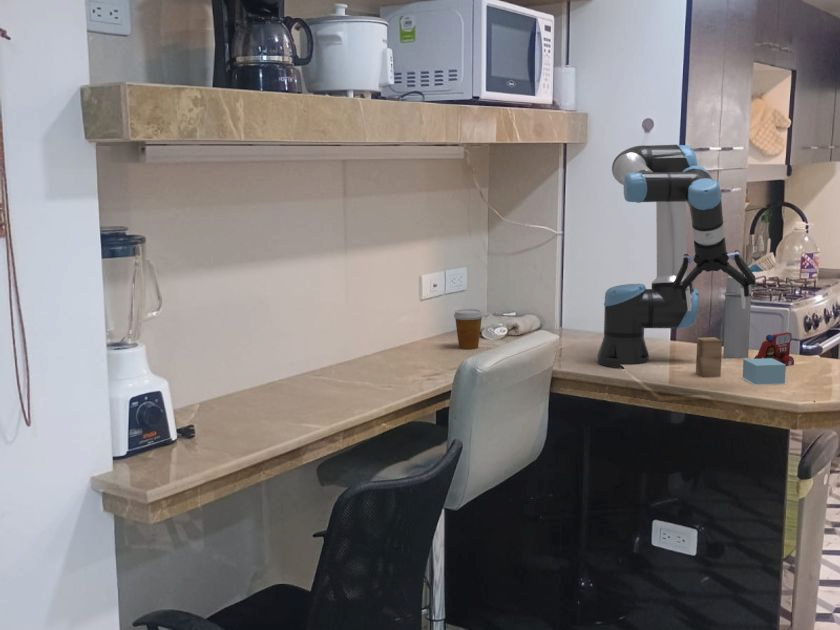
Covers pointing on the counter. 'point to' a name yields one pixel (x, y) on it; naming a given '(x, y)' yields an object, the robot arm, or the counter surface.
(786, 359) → the toy fire truck
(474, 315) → the disposable coffee cup
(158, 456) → the counter surface
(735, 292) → the water bottle
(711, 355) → the walnut block
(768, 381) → the teal block
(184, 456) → the counter surface
